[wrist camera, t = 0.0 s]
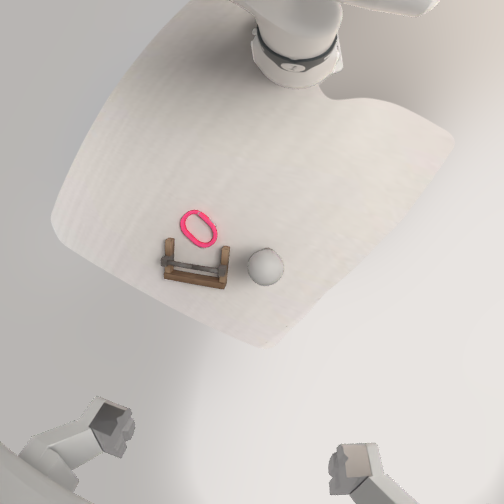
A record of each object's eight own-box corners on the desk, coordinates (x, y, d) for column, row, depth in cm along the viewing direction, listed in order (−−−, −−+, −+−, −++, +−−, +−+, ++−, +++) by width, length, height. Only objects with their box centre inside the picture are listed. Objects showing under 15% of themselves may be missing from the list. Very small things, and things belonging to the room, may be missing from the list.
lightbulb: (255, 269, 57) (249, 293, 46) (249, 240, 55) (242, 259, 45) (286, 265, 56) (286, 289, 46) (281, 235, 54) (280, 253, 44)
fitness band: (224, 232, 56) (223, 233, 54) (205, 251, 57) (203, 254, 56) (194, 203, 54) (192, 204, 53) (176, 224, 56) (174, 226, 55)
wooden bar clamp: (169, 237, 57) (161, 243, 53) (230, 246, 56) (226, 253, 52) (168, 273, 59) (161, 281, 56) (226, 284, 59) (222, 292, 55)
